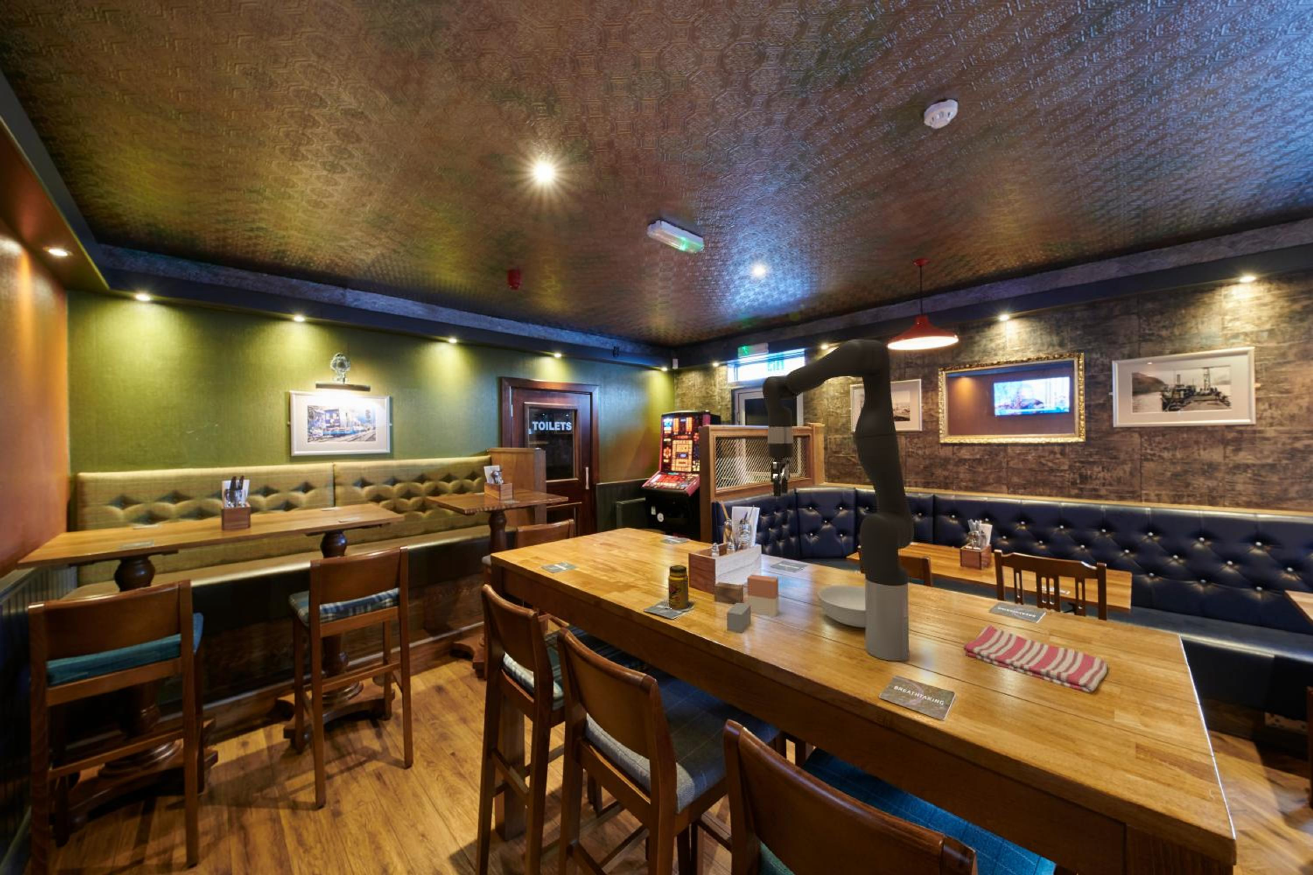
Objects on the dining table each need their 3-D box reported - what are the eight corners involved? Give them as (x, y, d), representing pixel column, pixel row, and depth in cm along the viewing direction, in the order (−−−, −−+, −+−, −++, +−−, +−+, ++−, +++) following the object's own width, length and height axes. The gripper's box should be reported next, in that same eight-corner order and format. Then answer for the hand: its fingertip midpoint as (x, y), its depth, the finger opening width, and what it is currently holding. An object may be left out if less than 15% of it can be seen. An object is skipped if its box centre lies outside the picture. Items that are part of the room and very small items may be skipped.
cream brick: (778, 611, 140) (778, 594, 139) (775, 616, 136) (775, 599, 136) (751, 607, 143) (751, 590, 143) (747, 612, 140) (747, 595, 140)
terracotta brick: (778, 595, 139) (778, 577, 139) (774, 599, 136) (774, 581, 136) (751, 590, 143) (751, 574, 143) (747, 594, 140) (747, 577, 140)
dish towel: (985, 636, 123) (985, 622, 123) (1109, 670, 105) (1109, 654, 105) (961, 656, 112) (961, 642, 112) (1096, 699, 94) (1096, 681, 94)
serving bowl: (915, 637, 122) (915, 610, 121) (832, 637, 122) (832, 610, 122) (879, 607, 142) (878, 584, 142) (808, 607, 143) (808, 584, 143)
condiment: (664, 609, 143) (663, 569, 143) (672, 599, 151) (672, 561, 151) (687, 611, 140) (687, 571, 140) (695, 602, 148) (694, 563, 148)
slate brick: (736, 620, 134) (736, 602, 134) (750, 622, 132) (750, 604, 132) (727, 630, 127) (726, 612, 127) (741, 633, 125) (741, 614, 125)
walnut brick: (743, 601, 149) (743, 585, 148) (739, 605, 145) (739, 589, 145) (719, 597, 152) (718, 581, 152) (714, 601, 149) (714, 585, 149)
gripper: (787, 442, 138) (787, 498, 138) (797, 441, 151) (798, 492, 151) (761, 442, 142) (762, 497, 142) (774, 441, 154) (774, 491, 155)
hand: (780, 494), depth 147 cm, fingers open, 8 cm apart
